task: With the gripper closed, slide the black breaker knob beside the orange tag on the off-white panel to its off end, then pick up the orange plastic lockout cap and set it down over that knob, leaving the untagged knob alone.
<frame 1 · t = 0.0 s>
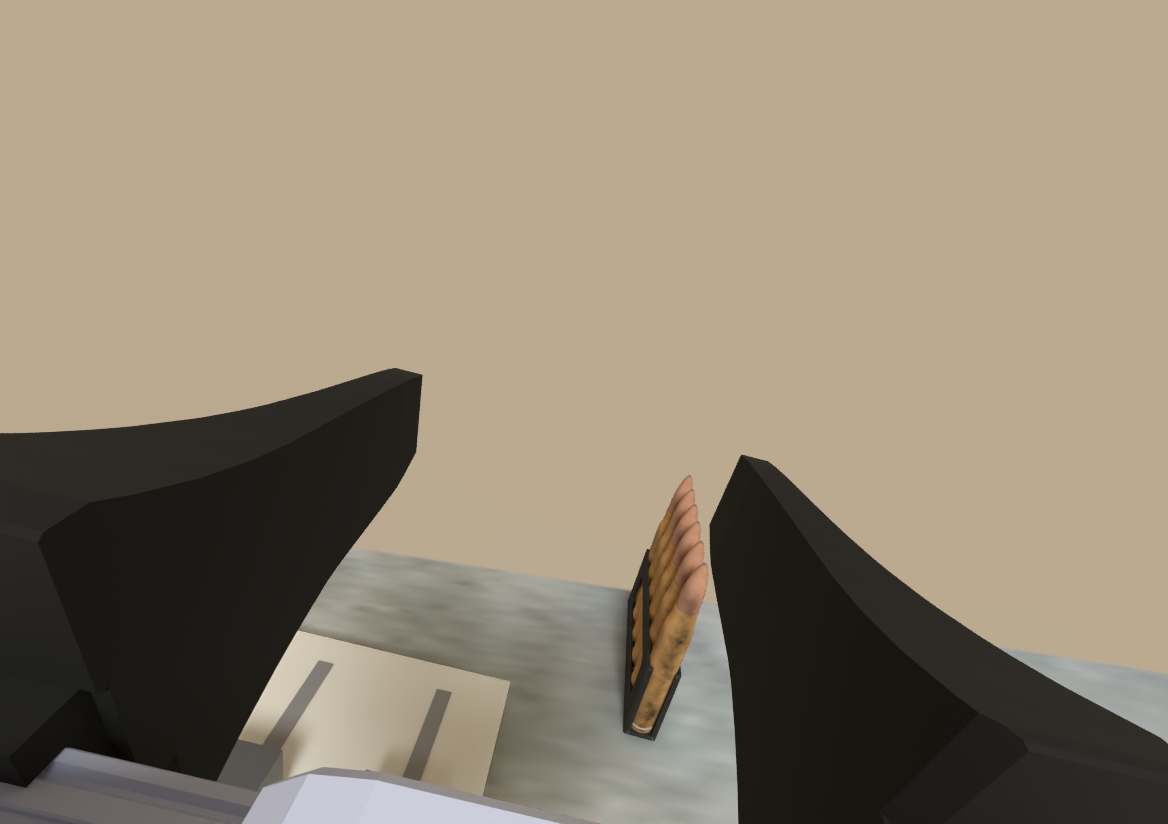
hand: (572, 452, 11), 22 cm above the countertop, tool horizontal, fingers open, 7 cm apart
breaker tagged: (229, 788, 20), point 3 cm above the countertop, slide at 0.0 cm, touching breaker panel
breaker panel: (345, 773, 24), on the countertop
ammunition clip: (638, 662, 34), on the countertop
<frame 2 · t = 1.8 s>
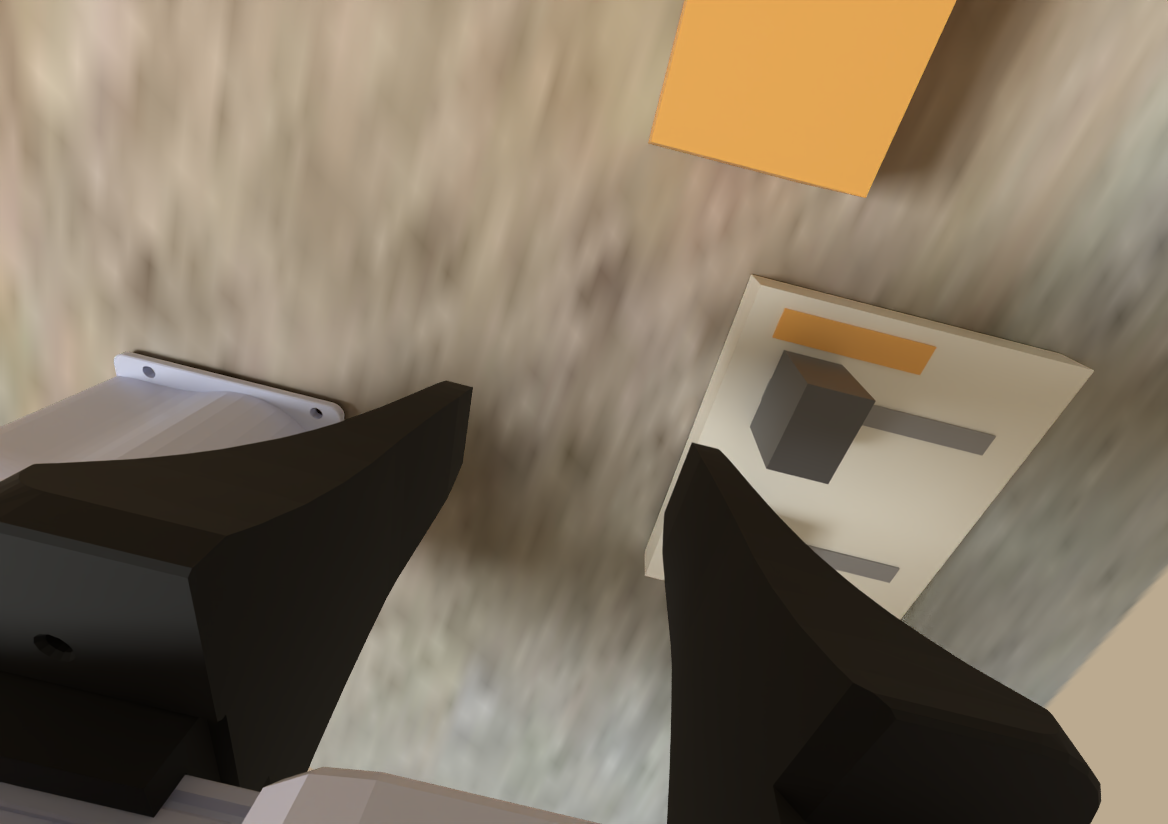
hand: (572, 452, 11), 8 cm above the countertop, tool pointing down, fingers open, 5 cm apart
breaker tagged: (805, 415, 16), point 3 cm above the countertop, slide at 0.0 cm, touching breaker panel
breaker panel: (822, 466, 20), on the countertop
lockout cap: (763, 48, 14), on the countertop
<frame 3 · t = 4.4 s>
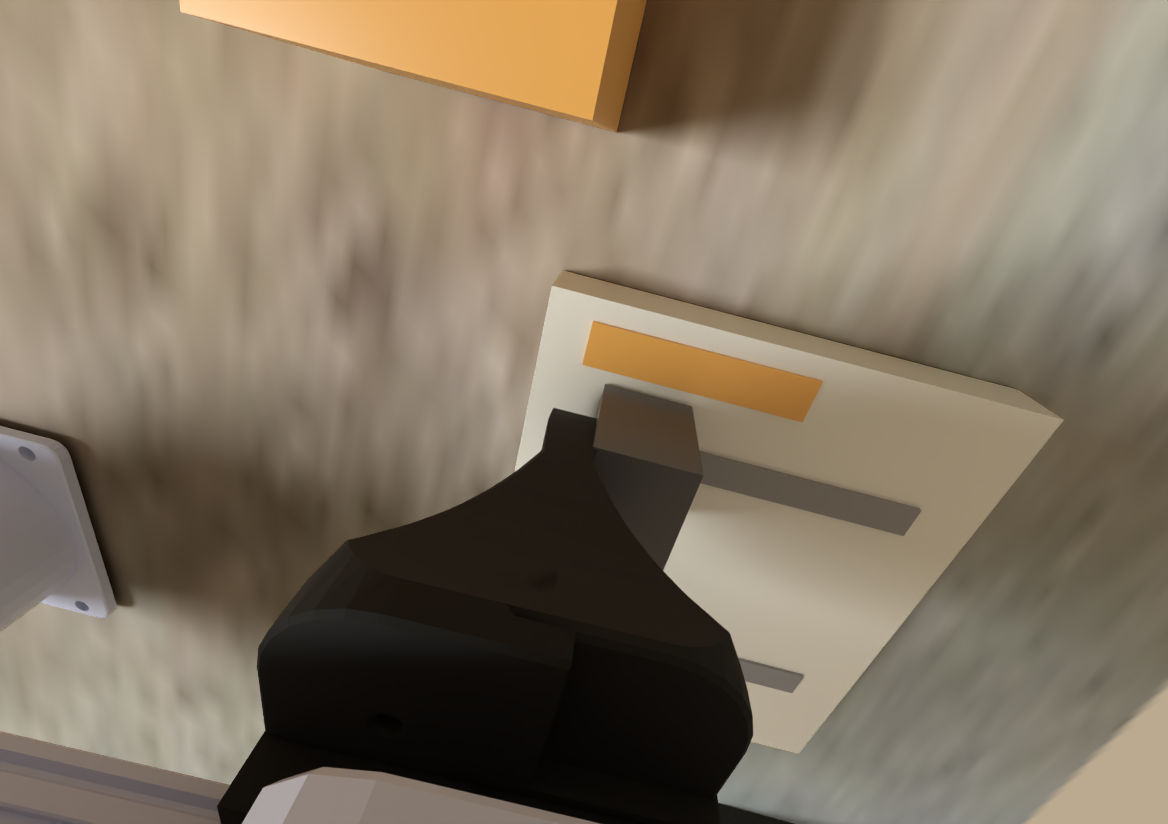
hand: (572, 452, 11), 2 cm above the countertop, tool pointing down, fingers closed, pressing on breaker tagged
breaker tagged: (628, 483, 11), point 3 cm above the countertop, slide at 0.1 cm, touching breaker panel, gripper
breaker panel: (698, 535, 15), on the countertop
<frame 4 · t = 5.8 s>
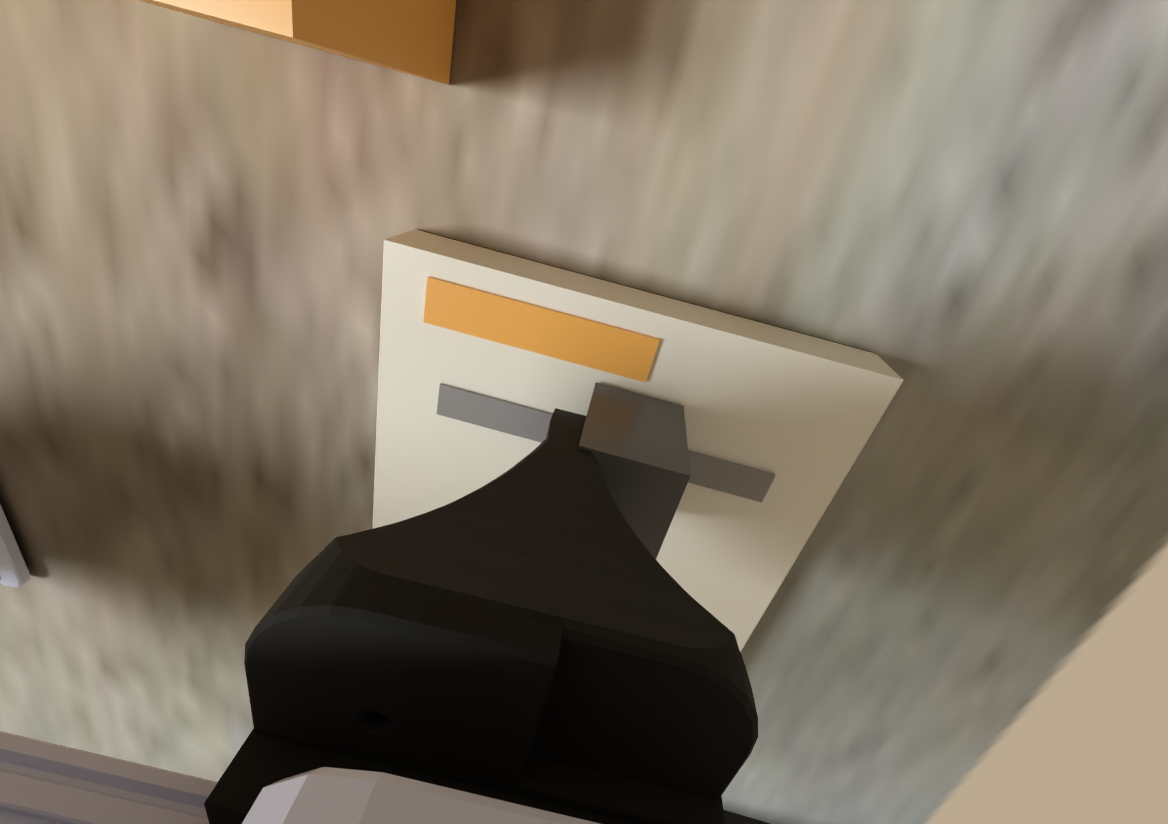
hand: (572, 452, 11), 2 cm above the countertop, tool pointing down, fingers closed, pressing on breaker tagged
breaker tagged: (617, 483, 11), point 3 cm above the countertop, slide at 3.5 cm, touching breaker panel, gripper
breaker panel: (581, 506, 15), on the countertop
ammunition clip: (741, 822, 22), on the countertop
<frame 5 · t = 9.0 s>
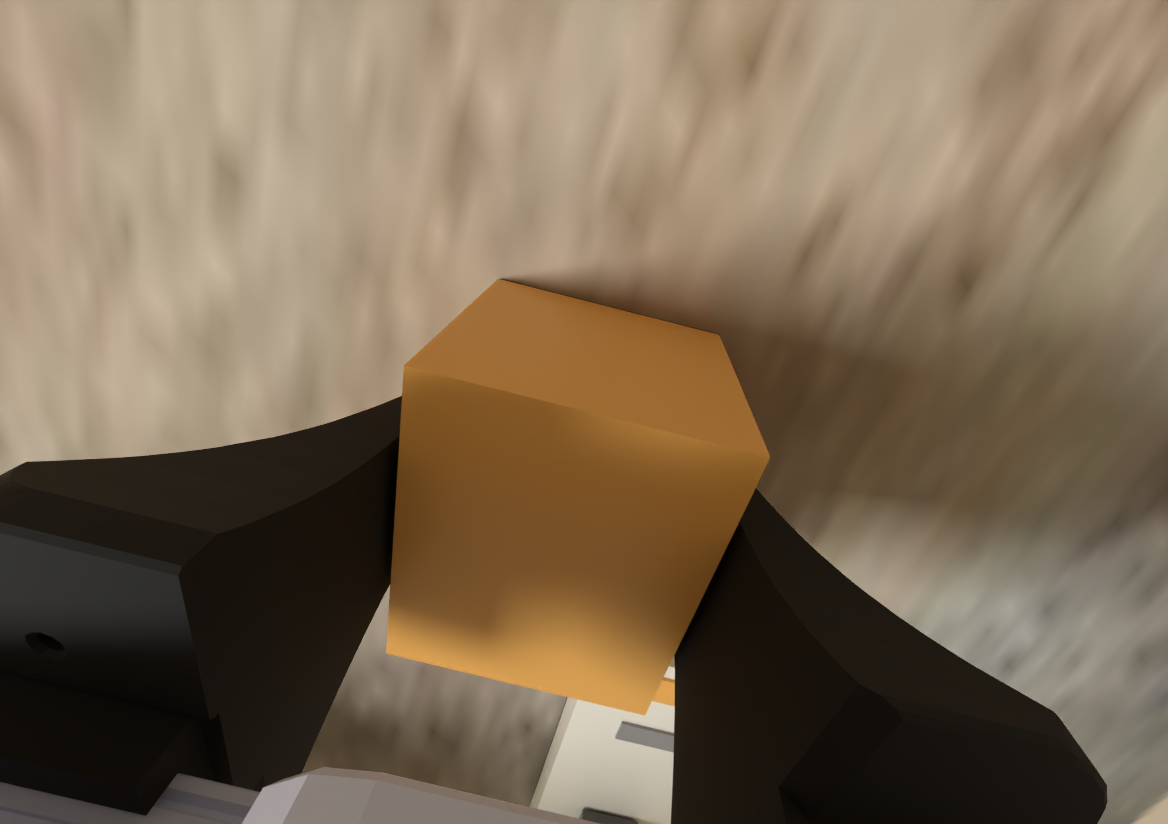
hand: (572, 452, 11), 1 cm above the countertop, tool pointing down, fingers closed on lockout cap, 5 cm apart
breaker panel: (703, 761, 19), on the countertop
lockout cap: (579, 422, 13), on the countertop, touching gripper
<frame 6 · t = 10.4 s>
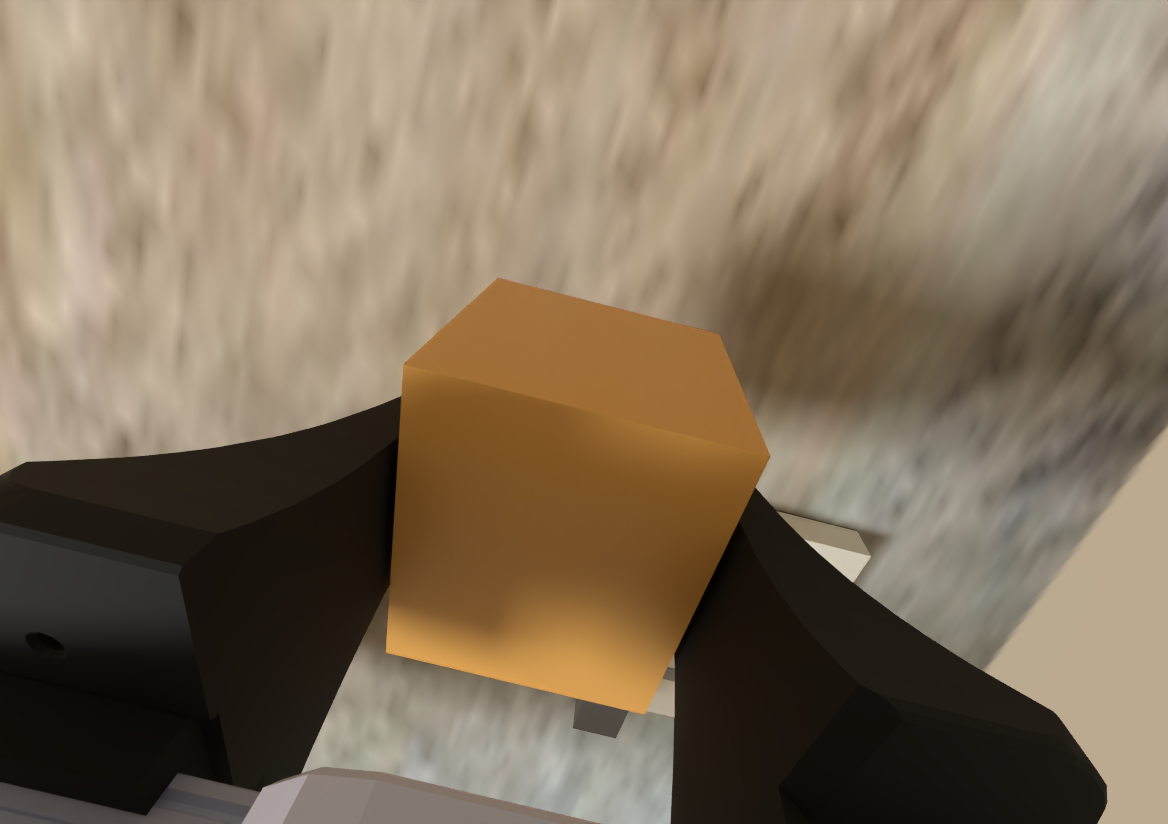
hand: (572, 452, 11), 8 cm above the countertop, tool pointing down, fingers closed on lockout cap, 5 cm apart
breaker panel: (684, 603, 25), on the countertop
lockout cap: (579, 421, 13), point 7 cm above the countertop, touching gripper
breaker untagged: (604, 685, 23), point 3 cm above the countertop, slide at 0.0 cm, touching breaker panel
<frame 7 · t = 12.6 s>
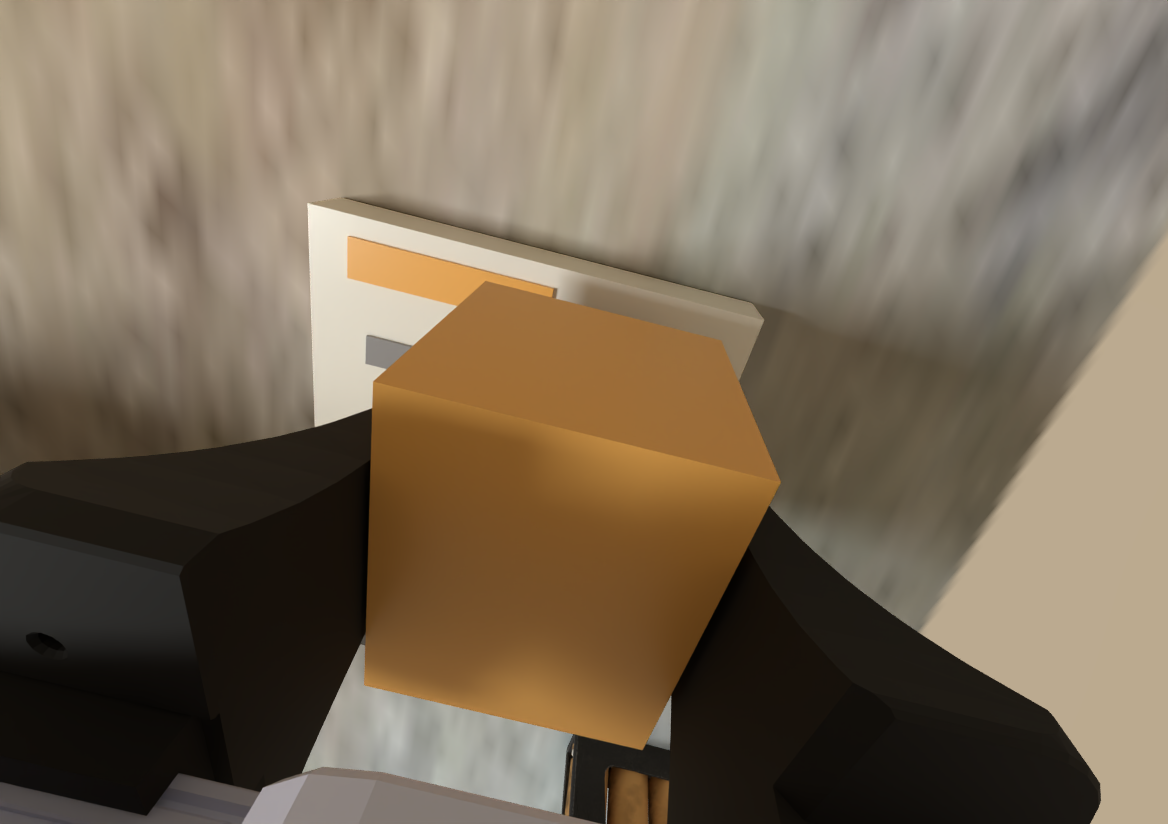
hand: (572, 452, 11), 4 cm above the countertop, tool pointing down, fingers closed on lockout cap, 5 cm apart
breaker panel: (509, 454, 16), on the countertop
lockout cap: (573, 432, 12), point 3 cm above the countertop, touching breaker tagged, gripper
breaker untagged: (372, 570, 15), point 3 cm above the countertop, slide at 0.0 cm, touching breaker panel
ammunition clip: (683, 761, 23), on the countertop
when the fingers open (4 cm above the countertop, at t = 12.7 s): lockout cap drops 2 cm, resting on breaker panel.
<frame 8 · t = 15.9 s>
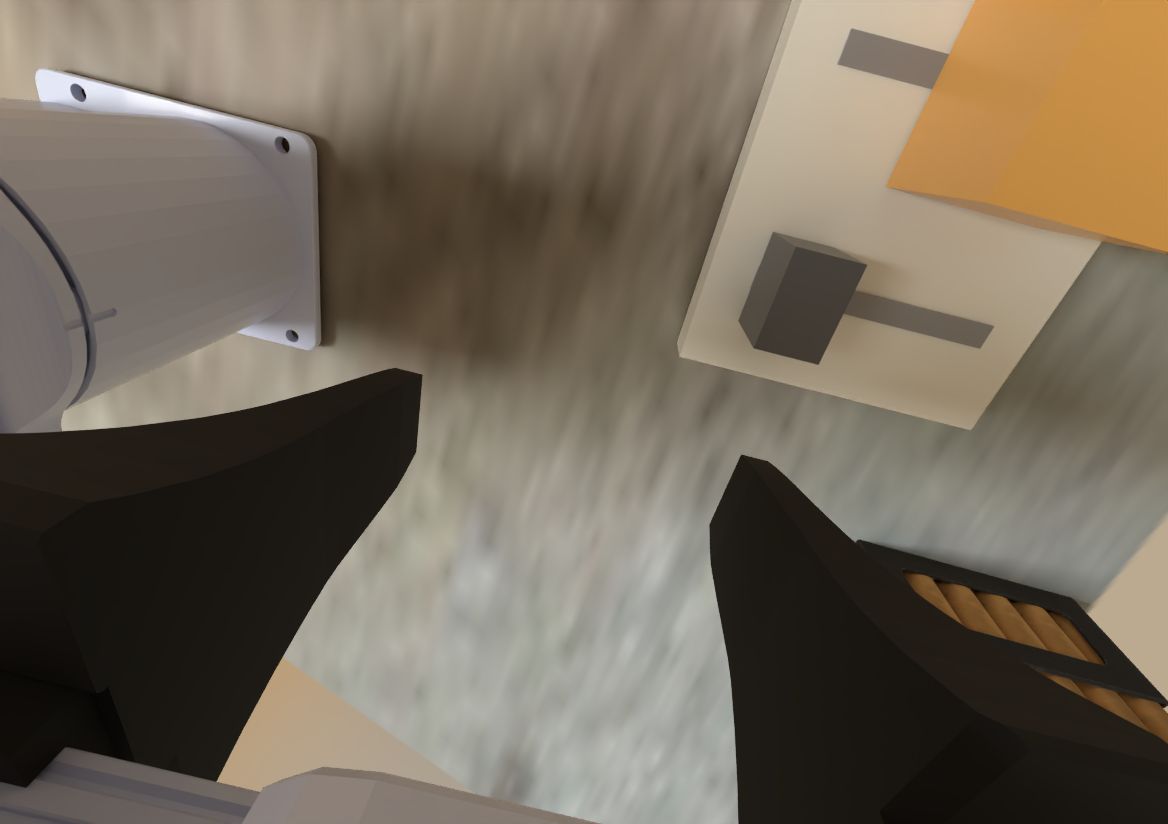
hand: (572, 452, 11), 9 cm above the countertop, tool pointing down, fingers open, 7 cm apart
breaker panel: (899, 202, 17), on the countertop
lockout cap: (1030, 93, 14), point 2 cm above the countertop, touching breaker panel
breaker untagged: (795, 296, 16), point 3 cm above the countertop, slide at 0.0 cm, touching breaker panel
ammunition clip: (952, 579, 24), on the countertop
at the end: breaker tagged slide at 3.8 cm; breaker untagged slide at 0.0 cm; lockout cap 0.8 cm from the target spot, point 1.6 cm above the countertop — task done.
